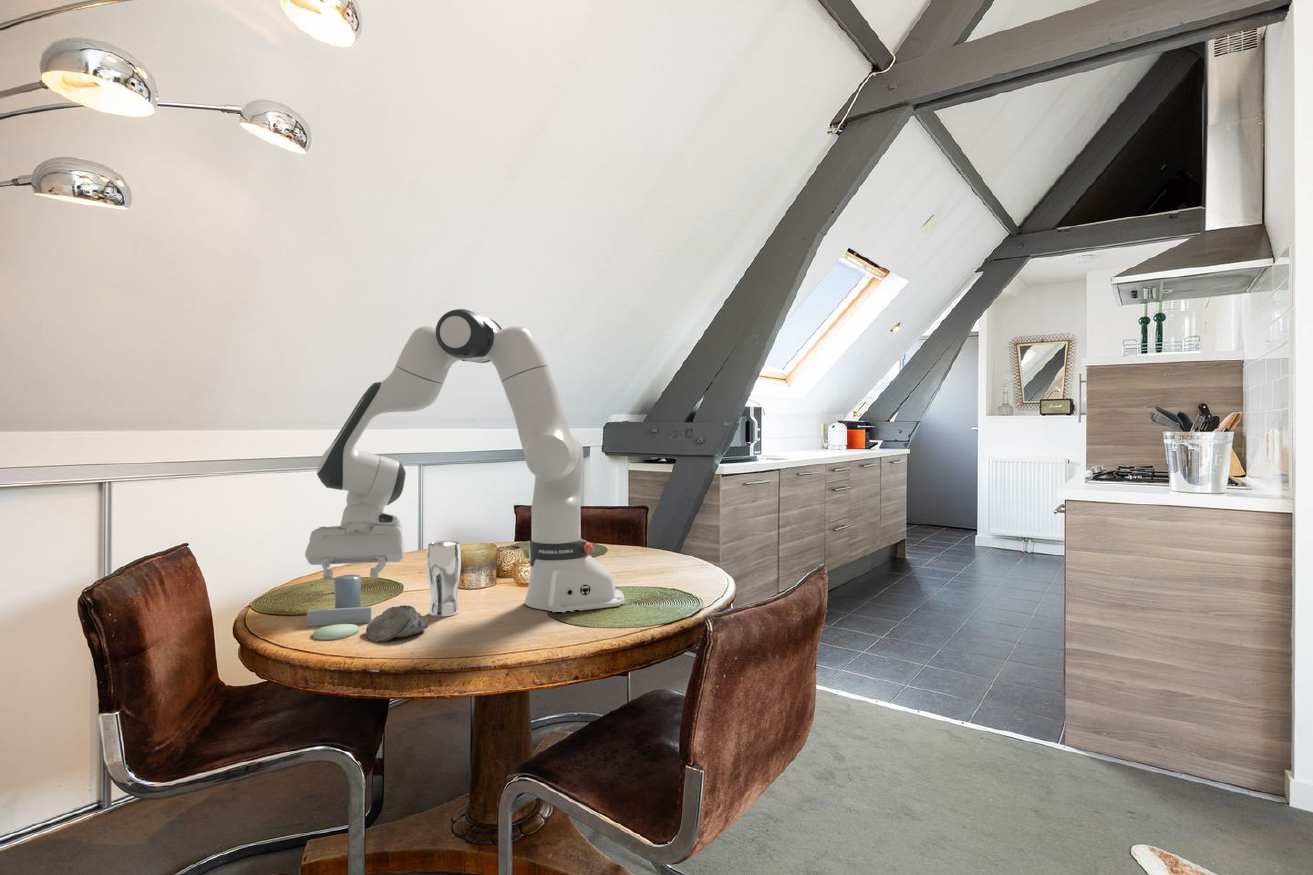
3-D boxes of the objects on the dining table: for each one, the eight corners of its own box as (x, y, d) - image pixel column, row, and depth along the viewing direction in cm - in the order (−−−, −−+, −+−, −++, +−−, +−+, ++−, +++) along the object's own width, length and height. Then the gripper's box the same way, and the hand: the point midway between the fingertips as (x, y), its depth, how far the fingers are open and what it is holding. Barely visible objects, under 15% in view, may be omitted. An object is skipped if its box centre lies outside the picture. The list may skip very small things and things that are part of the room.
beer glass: (451, 618, 137) (450, 547, 137) (420, 616, 139) (420, 545, 139) (467, 609, 144) (466, 541, 144) (438, 607, 146) (437, 540, 145)
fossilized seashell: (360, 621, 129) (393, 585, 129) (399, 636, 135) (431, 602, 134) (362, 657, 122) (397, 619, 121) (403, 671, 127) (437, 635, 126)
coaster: (363, 625, 133) (363, 622, 133) (353, 638, 125) (353, 635, 125) (320, 628, 131) (320, 625, 131) (307, 641, 123) (307, 638, 123)
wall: (371, 621, 136) (371, 606, 136) (370, 622, 135) (370, 607, 135) (308, 624, 134) (308, 609, 133) (307, 626, 133) (306, 611, 132)
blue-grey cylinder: (363, 610, 144) (363, 574, 143) (357, 617, 139) (357, 579, 138) (338, 612, 143) (338, 575, 142) (332, 618, 138) (331, 580, 137)
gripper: (309, 518, 148) (295, 571, 139) (405, 516, 152) (397, 567, 143) (315, 535, 153) (302, 587, 143) (408, 532, 157) (401, 583, 147)
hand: (350, 577), depth 143 cm, fingers open, 8 cm apart
